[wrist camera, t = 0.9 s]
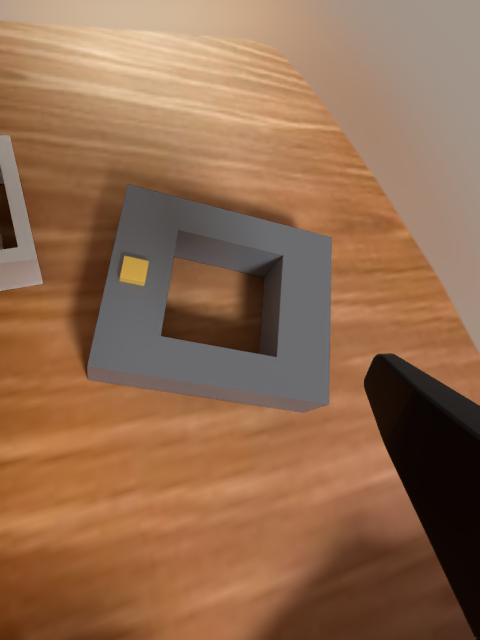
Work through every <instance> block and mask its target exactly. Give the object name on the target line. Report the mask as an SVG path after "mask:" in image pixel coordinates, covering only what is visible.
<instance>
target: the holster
mask: <svg viewBox="0 0 480 640" xmlns="http://www.w3.org/2000/svg"><path fill="white" fill-rule="evenodd" d="M0 184H5V189H6V193H7V198H8V203H9V207H10V212H11V217H12V221H13V226H14V231H15V235H16V240H17V245H18V247H17V248H9V249H2V250H0V291H3V290H10V289H16V288H22V287H28V286H34V285H40V284H43V281H42V276H41V272H40V267H39V263H38V258H37V254H36V249H35V245H34V240H33V236H32V231H31V227H30V223H29V218H28V214H27V209H26V205H25V200H24V196H23V191H22V187H21V182H20V178H19V173H18V169H17V165H16V160H15V156H14V152H13V147H12V143H11V139H10V135H0Z"/></svg>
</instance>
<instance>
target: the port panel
mask: <svg viewBox="0 0 480 640" xmlns="http://www.w3.org/2000/svg"><path fill="white" fill-rule="evenodd" d="M331 250H332V237H329V236H325V235H321V234H317V233H313V232H310V231H306V230H302V229H298V228H294V227H291V226H287V225H283V224H279V223H275V222H271V221H268V220H264V219H260V218H256V217H252V216H248V215H245V214H241V213H237V212H233V211H229V210H225V209H222V208H218V207H214V206H210V205H206V204H202V203H199V202H195V201H191V200H187V199H183V198H179V197H176V196H172V195H168V194H164V193H160V192H157V191H153V190H149V189H145V188H141V187H137V186H134V185H130V184H128V185H127V189H126V194H125V198H124V203H123V207H122V212H121V216H120V221H119V225H118V230H117V234H116V239H115V243H114V248H113V252H112V257H111V261H110V266H109V270H108V275H107V279H106V284H105V288H104V293H103V297H102V302H101V306H100V311H99V315H98V320H97V324H96V329H95V333H94V338H93V342H92V347H91V351H90V356H89V360H88V365H87V374H88V380H92V381H98V382H105V383H111V384H118V385H125V386H131V387H138V388H144V389H151V390H158V391H164V392H171V393H177V394H184V395H191V396H197V397H204V398H211V399H217V400H224V401H230V402H237V403H244V404H250V405H257V406H263V407H270V408H277V409H283V410H290V411H296V412H303V413H305V412H308V411H311V410H314V409H317V408H320V407H323V406H326V405H329V372H330V311H331ZM174 257H178V258H182V259H187V260H191V261H195V262H200V263H204V264H209V265H213V266H217V267H222V268H226V269H231V270H235V271H239V272H244V273H248V274H253V275H257V276H261V277H265V279H264V292H263V305H262V318H261V331H260V344H259V354H256V353H251V352H245V351H240V350H234V349H229V348H223V347H218V346H212V345H207V344H201V343H196V342H190V341H185V340H179V339H174V338H168V337H163V336H161V332H162V326H163V320H164V313H165V307H166V301H167V295H168V289H169V283H170V277H171V271H172V265H173V258H174Z"/></svg>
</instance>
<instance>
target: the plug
mask: <svg viewBox="0 0 480 640" xmlns="http://www.w3.org/2000/svg"><path fill="white" fill-rule="evenodd" d="M2 249H4V247H3V242H2V237H1V232H0V250H2Z"/></svg>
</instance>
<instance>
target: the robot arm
mask: <svg viewBox="0 0 480 640" xmlns="http://www.w3.org/2000/svg"><path fill="white" fill-rule="evenodd" d="M364 388H365V391H366V394H367V397H368V400H369V403H370V406H371V409H372V411H373V414H374V417H375V420H376V423H377V426H378V428H379V431H380V434H381V437H382V439H383V442H384V445H385V447H386V449H387V451H388V454H389V456H390V458H391V460H392V462H393V464H394V466H395V469H396V471H397V473H398V475H399V477H400V479H401V481H402V483H403V486H404V488H405V490H406V492H407V494H408V496H409V498H410V501H411V503H412V505H413V507H414V509H415V511H416V513H417V515H418V518H419V520H420V522H421V524H422V526H423V528H424V530H425V532H426V535H427V537H428V539H429V541H430V543H431V545H432V547H433V549H434V552H435V554H436V556H437V558H438V560H439V562H440V564H441V566H442V569H443V571H444V573H445V575H446V577H447V579H448V581H449V584H450V586H451V588H452V590H453V592H454V594H455V596H456V598H457V601H458V603H459V605H460V607H461V609H462V611H463V613H464V615H465V618H466V620H467V622H468V624H469V626H470V628H471V630H472V632H473V635H474V636H475V637H476V640H480V406H479V405H477V404H476V403H474V402H473V401H471V400H469V399H468V398H466V397H464V396H463V395H461V394H459V393H458V392H456V391H454V390H453V389H451V388H449V387H448V386H446V385H444V384H443V383H441V382H439V381H438V380H436V379H434V378H433V377H431V376H430V375H428V374H426V373H425V372H423V371H421V370H420V369H418V368H416V367H415V366H413V365H411V364H410V363H408V362H406V361H405V360H403V359H401V358H400V357H398V356H396V355H395V354H391V353H388V354H378V355H376V356H375V357H374V358H373V361H372V363H371V365H370V367H369V370H368V372H367V374H366V376H365V379H364Z"/></svg>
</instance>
